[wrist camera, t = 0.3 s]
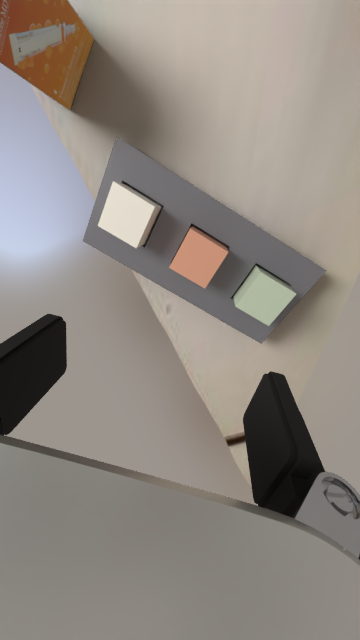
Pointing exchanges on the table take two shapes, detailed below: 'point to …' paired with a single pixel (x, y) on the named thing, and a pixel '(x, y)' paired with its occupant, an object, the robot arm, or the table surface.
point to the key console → (210, 217)
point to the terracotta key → (199, 257)
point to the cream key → (129, 214)
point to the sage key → (263, 295)
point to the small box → (45, 45)
